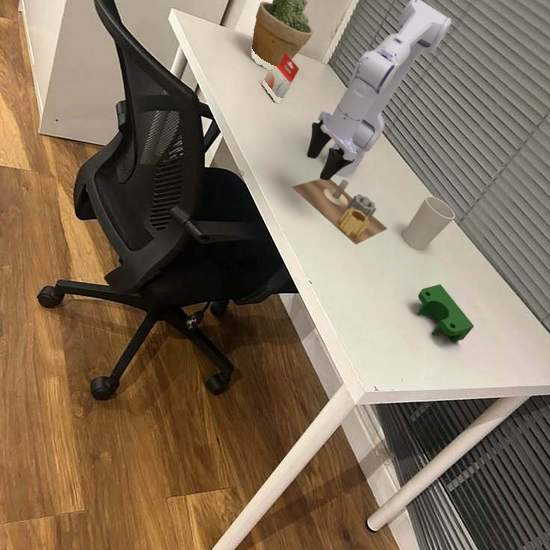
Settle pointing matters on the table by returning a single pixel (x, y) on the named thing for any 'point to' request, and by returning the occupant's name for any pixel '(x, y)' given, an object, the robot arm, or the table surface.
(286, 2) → the potted plant
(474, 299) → the table surface
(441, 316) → the clamp
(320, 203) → the board
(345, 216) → the brass gear
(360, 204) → the grey gear
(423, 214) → the cup
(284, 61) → the ink box
